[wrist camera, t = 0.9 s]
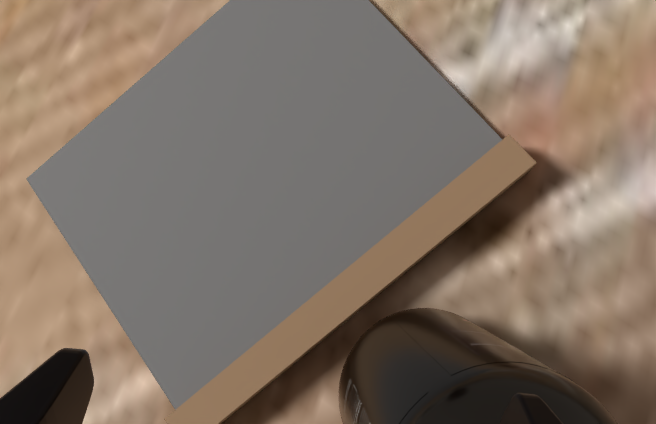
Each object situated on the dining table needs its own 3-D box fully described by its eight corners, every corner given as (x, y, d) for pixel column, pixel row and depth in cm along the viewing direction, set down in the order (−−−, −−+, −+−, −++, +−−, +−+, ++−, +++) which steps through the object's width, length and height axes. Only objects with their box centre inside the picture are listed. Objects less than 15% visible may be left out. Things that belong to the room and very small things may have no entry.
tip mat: (529, 171, 23) (536, 162, 21) (200, 440, 24) (184, 450, 22) (307, -61, 26) (299, -83, 25) (32, 180, 27) (8, 173, 26)
